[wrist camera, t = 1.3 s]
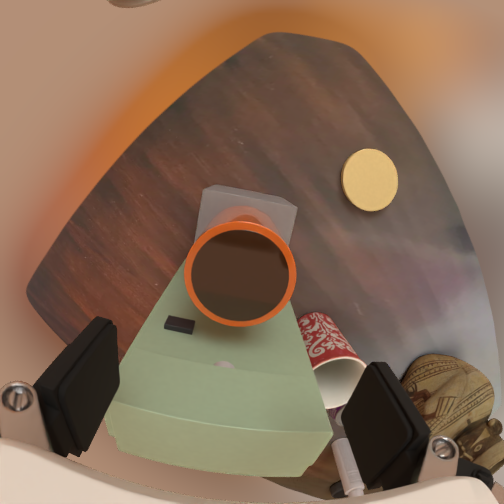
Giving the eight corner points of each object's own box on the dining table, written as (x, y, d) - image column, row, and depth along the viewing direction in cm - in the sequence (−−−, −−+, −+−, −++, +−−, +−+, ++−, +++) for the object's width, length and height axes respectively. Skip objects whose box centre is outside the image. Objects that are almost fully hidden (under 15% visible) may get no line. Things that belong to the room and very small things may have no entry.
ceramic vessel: (368, 394, 48) (422, 511, 20) (446, 326, 45) (536, 417, 16) (400, 422, 53) (445, 511, 24) (465, 366, 49) (529, 442, 20)
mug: (326, 295, 42) (356, 344, 29) (347, 336, 44) (376, 387, 31) (255, 334, 43) (259, 392, 30) (281, 370, 46) (292, 428, 33)
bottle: (328, 442, 53) (347, 510, 33) (346, 435, 52) (368, 502, 33) (333, 449, 54) (351, 513, 35) (350, 442, 53) (371, 506, 34)
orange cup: (209, 198, 26) (192, 211, 17) (287, 214, 26) (308, 234, 18) (197, 272, 28) (178, 316, 19) (270, 286, 28) (281, 334, 20)
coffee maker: (299, 201, 38) (425, 273, 10) (275, 300, 42) (314, 476, 14) (197, 181, 37) (76, 206, 9) (182, 283, 41) (104, 445, 13)
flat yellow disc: (347, 141, 36) (349, 140, 35) (399, 159, 36) (403, 159, 35) (334, 202, 38) (336, 202, 37) (387, 216, 39) (390, 217, 38)
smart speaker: (360, 475, 60) (363, 484, 56) (352, 486, 62) (355, 495, 58) (333, 480, 59) (335, 490, 56) (327, 491, 62) (329, 500, 58)
